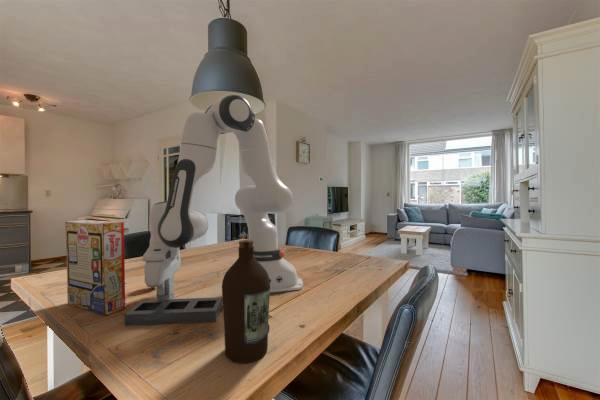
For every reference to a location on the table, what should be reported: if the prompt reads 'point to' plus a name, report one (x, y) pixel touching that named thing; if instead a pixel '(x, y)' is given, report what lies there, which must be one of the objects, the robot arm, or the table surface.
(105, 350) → the table surface
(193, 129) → the robot arm
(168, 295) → the steel peg
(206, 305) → the grey compartment tray
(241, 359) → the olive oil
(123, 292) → the cereal box
